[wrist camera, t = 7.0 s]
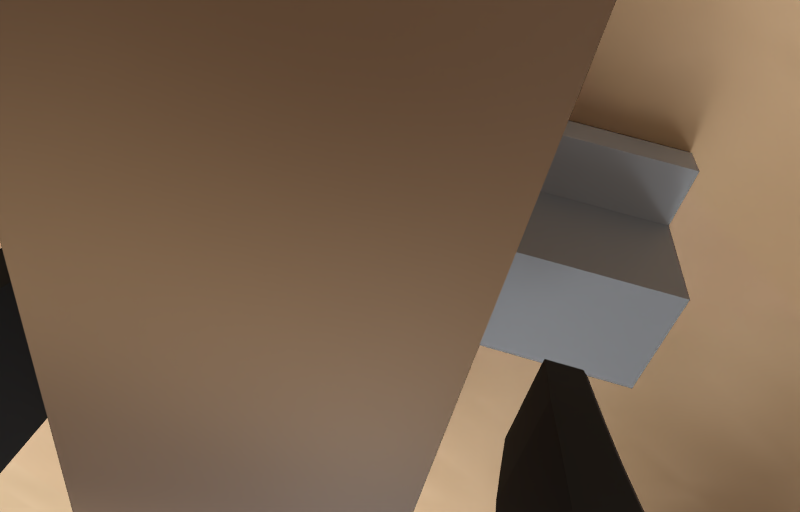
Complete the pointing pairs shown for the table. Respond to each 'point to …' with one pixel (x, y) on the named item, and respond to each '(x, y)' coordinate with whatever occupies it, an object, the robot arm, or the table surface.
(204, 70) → the batten
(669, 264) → the ridge
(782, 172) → the table surface
